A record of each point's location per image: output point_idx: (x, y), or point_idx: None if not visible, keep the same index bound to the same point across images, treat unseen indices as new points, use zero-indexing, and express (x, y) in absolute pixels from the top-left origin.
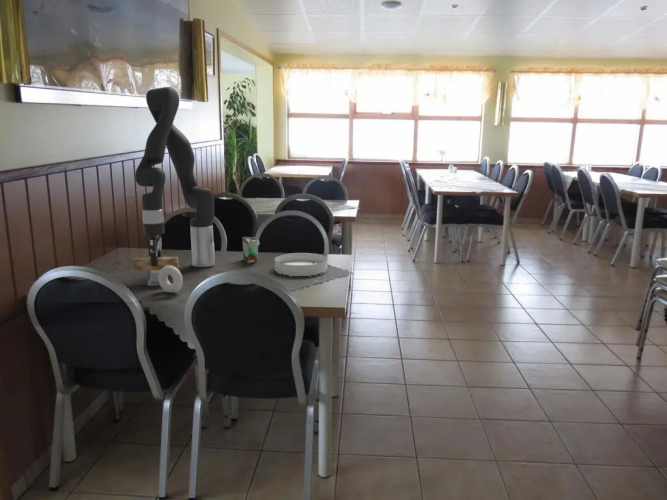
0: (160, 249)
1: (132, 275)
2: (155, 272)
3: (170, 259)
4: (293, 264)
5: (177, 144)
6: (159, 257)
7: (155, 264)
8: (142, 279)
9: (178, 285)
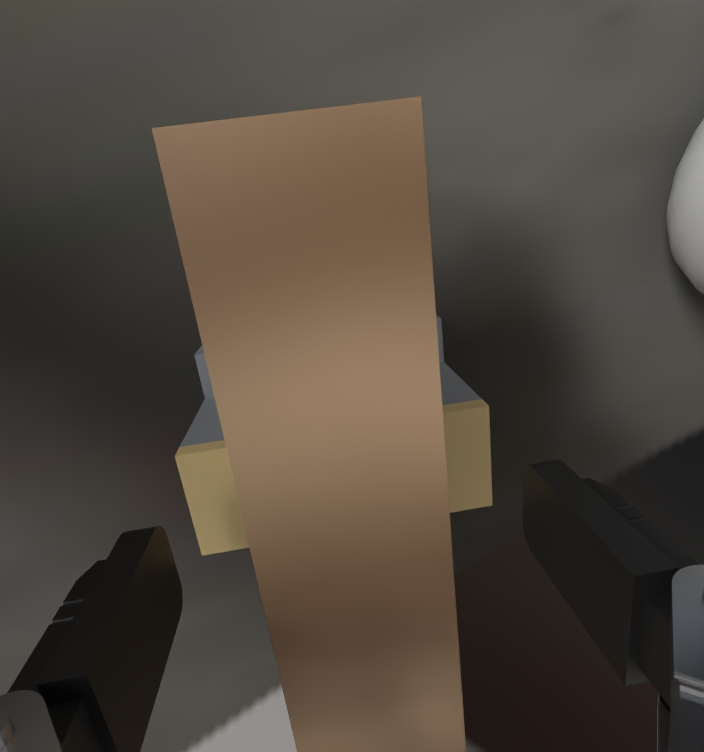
0: (56, 730)
1: None
2: (483, 443)
3: (427, 276)
4: None
5: None
6: (294, 557)
7: (600, 488)
8: (233, 570)
9: None
